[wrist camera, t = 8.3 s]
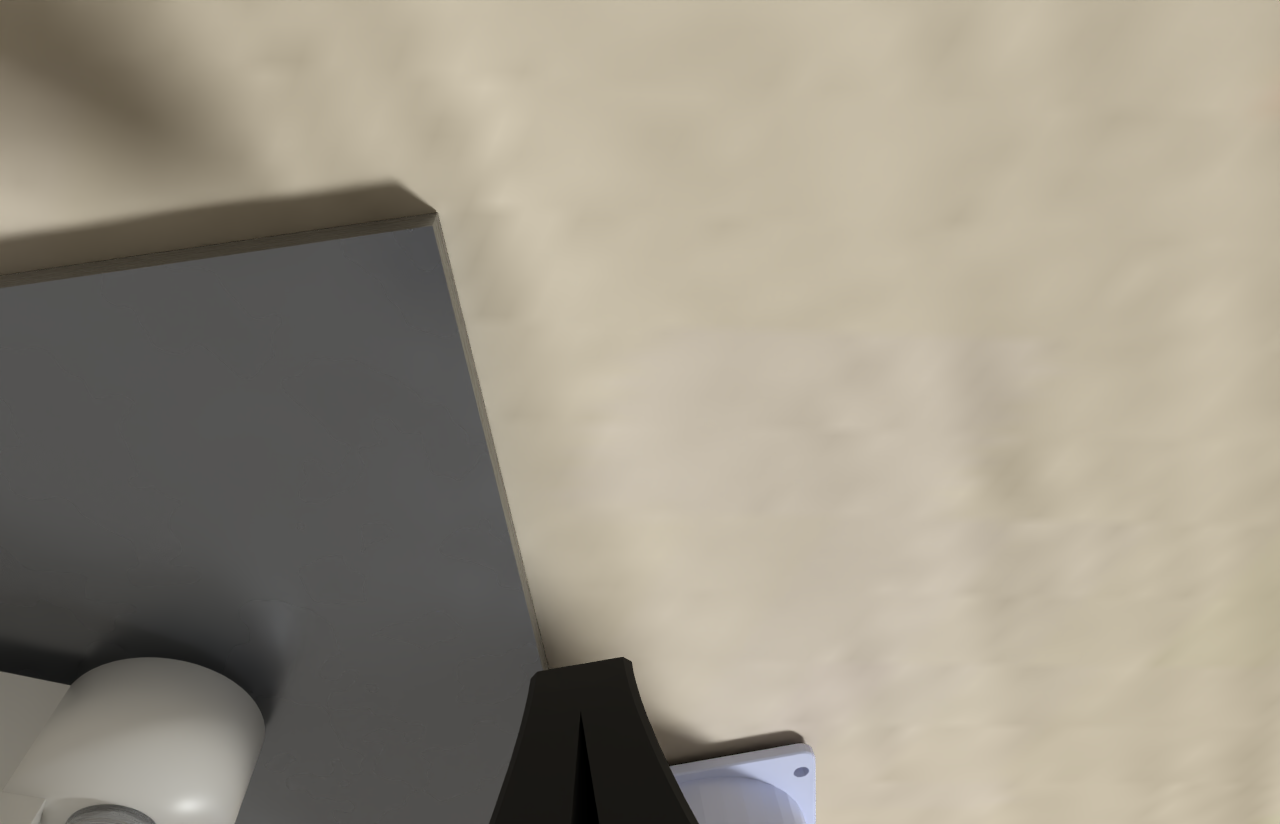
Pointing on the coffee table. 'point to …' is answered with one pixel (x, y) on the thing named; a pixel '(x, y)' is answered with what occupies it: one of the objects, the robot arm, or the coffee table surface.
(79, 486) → the base plate
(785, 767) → the robot arm
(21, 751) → the white block
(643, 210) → the coffee table surface
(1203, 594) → the coffee table surface
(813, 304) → the coffee table surface
